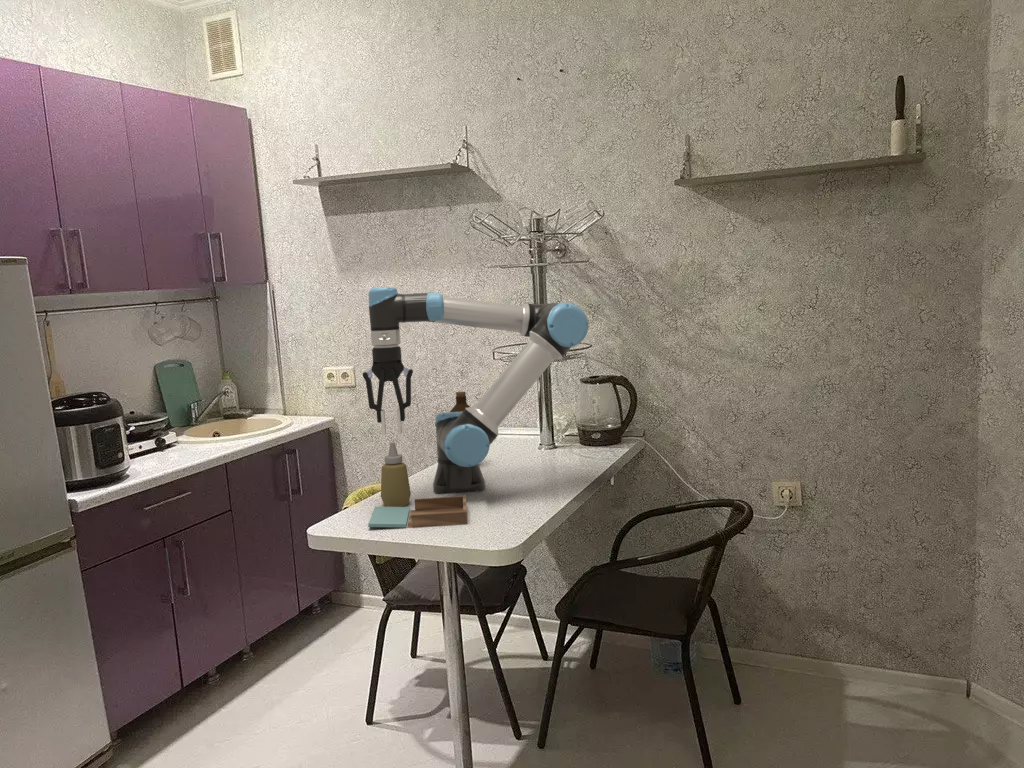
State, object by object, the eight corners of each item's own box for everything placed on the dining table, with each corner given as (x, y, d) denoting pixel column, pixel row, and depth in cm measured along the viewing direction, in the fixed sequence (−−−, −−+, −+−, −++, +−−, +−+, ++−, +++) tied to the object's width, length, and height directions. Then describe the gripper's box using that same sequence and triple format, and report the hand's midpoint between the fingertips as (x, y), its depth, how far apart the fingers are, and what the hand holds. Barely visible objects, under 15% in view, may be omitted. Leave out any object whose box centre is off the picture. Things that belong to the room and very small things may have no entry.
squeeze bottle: (416, 504, 209) (412, 440, 207) (405, 513, 202) (401, 446, 199) (388, 504, 211) (384, 440, 209) (376, 512, 203) (372, 446, 201)
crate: (410, 514, 200) (410, 499, 200) (466, 510, 201) (465, 495, 201) (407, 531, 185) (406, 515, 185) (467, 527, 186) (466, 512, 186)
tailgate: (409, 510, 200) (374, 509, 200) (409, 507, 200) (374, 506, 199) (405, 527, 185) (368, 526, 184) (405, 524, 185) (368, 523, 184)
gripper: (352, 349, 197) (359, 438, 200) (417, 345, 198) (422, 434, 201) (356, 347, 204) (362, 433, 207) (418, 343, 205) (423, 429, 208)
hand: (392, 433), depth 204 cm, fingers open, 3 cm apart
